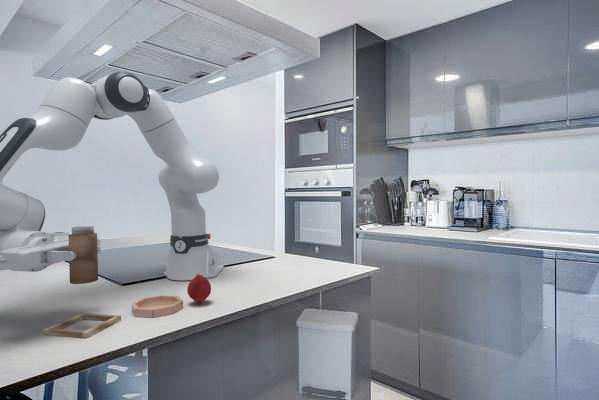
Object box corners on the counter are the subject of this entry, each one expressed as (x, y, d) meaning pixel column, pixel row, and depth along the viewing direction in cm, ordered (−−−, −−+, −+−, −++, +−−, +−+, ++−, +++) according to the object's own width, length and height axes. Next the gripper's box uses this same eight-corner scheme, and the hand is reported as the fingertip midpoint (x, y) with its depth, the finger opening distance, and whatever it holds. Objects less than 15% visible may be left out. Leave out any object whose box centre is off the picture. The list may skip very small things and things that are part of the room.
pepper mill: (83, 277, 79) (81, 225, 79) (103, 278, 78) (102, 226, 78) (63, 283, 74) (62, 228, 74) (85, 284, 73) (84, 228, 73)
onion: (213, 299, 95) (212, 269, 94) (208, 306, 89) (207, 275, 89) (191, 300, 94) (190, 270, 94) (184, 307, 89) (184, 275, 88)
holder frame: (82, 317, 82) (82, 313, 82) (121, 320, 80) (121, 315, 80) (43, 334, 72) (43, 329, 72) (86, 338, 70) (86, 333, 70)
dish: (150, 301, 94) (150, 294, 94) (189, 303, 92) (189, 296, 92) (122, 315, 83) (122, 308, 83) (165, 318, 81) (165, 310, 81)
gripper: (-19, 244, 68) (43, 245, 65) (69, 231, 88) (119, 232, 85) (-18, 277, 68) (44, 280, 66) (69, 256, 88) (119, 258, 86)
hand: (87, 252), depth 76 cm, fingers closed on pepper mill, 5 cm apart
